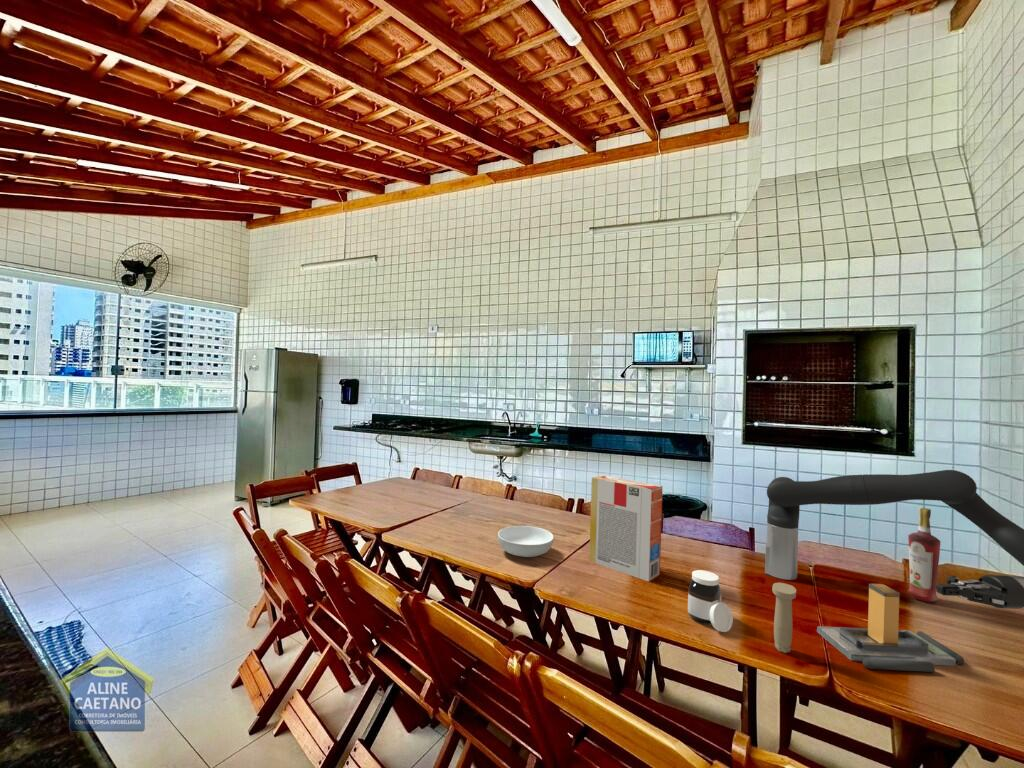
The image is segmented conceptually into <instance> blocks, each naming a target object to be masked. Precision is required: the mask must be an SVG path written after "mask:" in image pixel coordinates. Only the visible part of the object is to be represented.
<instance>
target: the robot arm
mask: <svg viewBox="0 0 1024 768" xmlns="http://www.w3.org/2000/svg"><path fill="white" fill-rule="evenodd" d="M977 490H978V487H977V483H976V481H975V480H974V479H973V477H971V476H970V475H969V474H967V473H964V472H962V471H960V470H954V469H943V470H937V471H929V472H922V473H911V474H887V473H886V474H882V473H880V474H877V473H875V474H868V473H867V474H866V473H865V474H850V475H849V474H848V475H847V474H846V475H841V476H840V475H839V476H835V477H828V478H823V479H818V480H811V481H810V480H808V481H806V480H805V481H803V480H801V481H799V480H794V479H793V478H789V477H787V476H778V477H776V478H774V479H772V480H771V482H770V483H769V484H768V486H767V488H766V496H767V499H768V510H767V515H766V517H767V518H766V519H767V520H766V545H765V553H764V554H765V557H764V559H765V560H764V562H765V563H764V574H766V575H769V576H771V577H774V578H777V579H780V580H788V581H793V580H797V578H798V557H799V556H798V555H799V554H798V553H799V552H798V551H799V522H800V521H799V520H800V509H801V507H800V506H806V505H835V506H836V505H839V506H840V505H841V506H842V505H843V506H844V505H845V506H846V505H847V506H848V505H850V506H865V505H866V506H869V505H886V504H891V503H892V504H893V503H898V502H905V501H906V502H907V501H914V500H915V501H916V500H917V501H939V502H943V503H944V504H945V505H947V506H948V507H950V508H951V509H953V510H954V511H956V512H957V513H959V514H961V515H962V516H964V517H965V518H966V519H967V520H969V521H970V522H972V523H973V524H974V525H975V526H977V528H979V529H980V530H982V531H983V533H985V534H987V535H988V536H989V538H991V539H992V540H993V542H995V543H996V544H998V545H999V546H1000V547H1001V548H1002V549H1003V550H1005V552H1006V553H1008V554H1009V556H1011V557H1012V558H1013V559H1014V560H1016V561H1018V563H1020V565H1022V566H1023V567H1024V528H1023V527H1021V526H1020V525H1018V524H1017V523H1015V522H1013V521H1012V520H1010V519H1009V518H1007V517H1005V516H1004V515H1003V514H1001V513H1000V512H998V510H996V509H994V508H993V507H992V506H991V505H989V504H988V502H986V501H985V500H984V499H983V498H982V496H980V495H979V493H978V492H977ZM936 593H938V594H939V595H941V596H945V597H946V596H948V597H949V596H950V597H951V596H954V597H955V596H956V597H958V598H963V599H967V600H968V602H969V601H970V602H974V603H977V604H978V603H979V604H983V605H987V606H992V607H994V608H997V609H1009V610H1010V609H1012V610H1024V576H1021V575H1011V574H1010V575H1009V574H1007V575H1006V574H984V575H982V576H980V577H979V578H978V579H977V580H976V579H966V580H960V578H959V577H957V576H956V575H955V574H954V575H950V576H948V578H946V583H937V585H936Z"/></svg>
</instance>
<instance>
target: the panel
mask: <svg viewBox="0 0 1024 768" xmlns="http://www.w3.org/2000/svg"><path fill="white" fill-rule="evenodd" d="M816 632H817V634H819V635H820V636H821V637H822V638H823V639H824V640H825V641H827V642H828V643H829V644H830V645H832V646H833V647H834V648H835V649H837V650H838V651H839V652H840V653H841V654H842V655H844V656H845V657H846V658H847V659H849V661H851V662H853V661H854V662H863V660H864V659H885V660H906V661H926V662H931V663H932V664H933V665H934V666H936V665H937V666H951V667H952V666H953V667H954V666H956V665H957V663H956V659H955V658H953V657H951V656H950V655H948V654H947V653H945V652H944V651H942V650H940V649H939V648H937V647H936V646H934V645H933V644H931V643H929V642H928V641H926V640H925V639H923V638H922V637H920V636H918V635H917V634H916V633H914V631H912V630H906V629H905V630H902V629H898V644H889V643H878V642H877V641H876V640H874V639H873V638H871V637H870V636H869V635H868V627H867V628H863V627H843V626H840V627H838V626H821V625H820V626H819V625H818V626H817V628H816Z"/></svg>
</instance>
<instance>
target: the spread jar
mask: <svg viewBox="0 0 1024 768" xmlns="http://www.w3.org/2000/svg"><path fill="white" fill-rule="evenodd" d="M691 574H692V575H691V580H690V583H689V586H688V593H687V594H688V595H687V613H688V616H690V617H691V618H692V619H693V620H695V621H697V622H699V623H702V624H706V625H712V627H713V629H715V630H716V631H718V632H722V633H727V632H729V631H730V630H731V628H732V626H733V612H732V610H731V608H730V607H729V606H728V604H726V603H724V602H722V588H721V585H720V577H719V576H718V574H715V573H714V572H712V571H708V570H703V569H697V570H694V571H692V572H691Z"/></svg>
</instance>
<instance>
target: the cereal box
mask: <svg viewBox="0 0 1024 768" xmlns="http://www.w3.org/2000/svg"><path fill="white" fill-rule="evenodd" d="M590 491H591V492H590V494H591V495H590V523H589V555H588V556H589V557H588V558H589V559H588V560H589V561H590V562H592V563H594V564H598V565H601V566H603V567H606V568H609V569H611V570H614V571H618V572H620V573H623V574H626V575H628V576H632V577H633V578H634V577H635V578H637V579H640V580H642V581H646V582H649V583H650V582H651V581H653V580H654V579H656V578H657V577H659V576H660V575H661V552H662V551H661V550H662V549H661V548H662V547H661V546H662V522H663V521H662V519H663V518H662V515H663V514H662V513H663V485H659V484H655V483H650V482H649V483H648V482H645V481H639V480H633V479H627V478H622V477H617V476H613V475H607V474H601V475H597V476H592V477H591V490H590Z"/></svg>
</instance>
